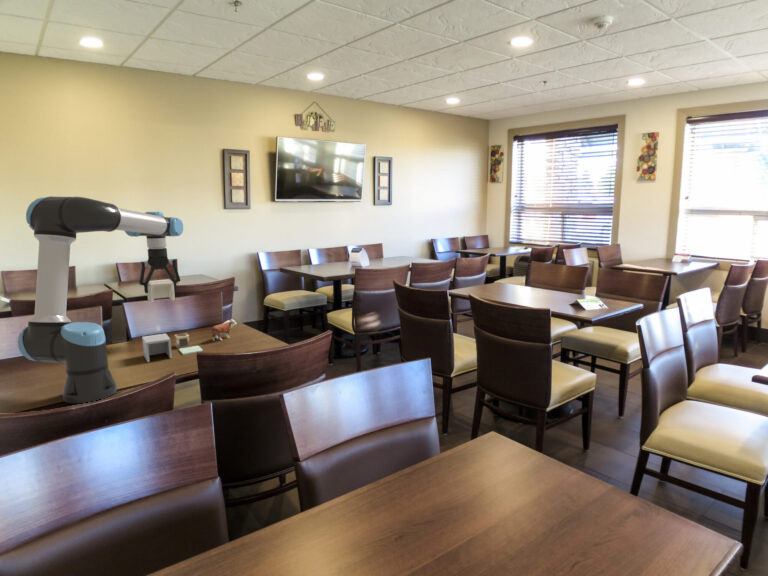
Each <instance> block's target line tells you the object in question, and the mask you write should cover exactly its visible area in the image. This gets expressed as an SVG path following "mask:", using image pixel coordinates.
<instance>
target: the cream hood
mask: <svg viewBox="0 0 768 576" xmlns="http://www.w3.org/2000/svg"><path fill="white" fill-rule="evenodd" d="M148 285H149V286H150V296H151V301H150V302H151V303H152V304H154V303H155V299H165V298H169V299H170V300H172V302H173V301H174V302H175V300H176V296H175V297H174V293H175V290H174V285H173V282H172V280H171V279H170V278H168V279H158V280H157V279H155V280H150V281H149V283H148Z"/></svg>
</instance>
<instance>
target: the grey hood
mask: <svg viewBox="0 0 768 576" xmlns="http://www.w3.org/2000/svg"><path fill="white" fill-rule="evenodd" d="M141 337H142V338H141V340H142V350H143V357H144V358H145V360H146V362H147V363H150V362H151V361H150V356H153V355H161V354H166V355H167V357H168V358H169V359H173V355H172V341H171V338H170V337H169V336H168V334H167V333H158V334H152V335H147V336H145V335H144V336H141Z"/></svg>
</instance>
